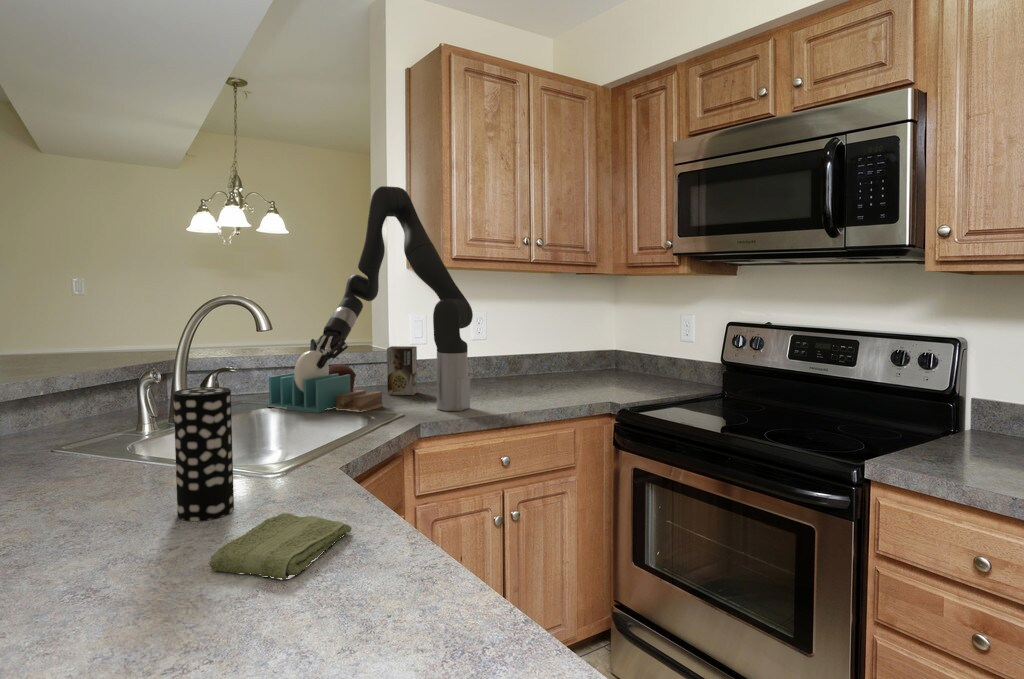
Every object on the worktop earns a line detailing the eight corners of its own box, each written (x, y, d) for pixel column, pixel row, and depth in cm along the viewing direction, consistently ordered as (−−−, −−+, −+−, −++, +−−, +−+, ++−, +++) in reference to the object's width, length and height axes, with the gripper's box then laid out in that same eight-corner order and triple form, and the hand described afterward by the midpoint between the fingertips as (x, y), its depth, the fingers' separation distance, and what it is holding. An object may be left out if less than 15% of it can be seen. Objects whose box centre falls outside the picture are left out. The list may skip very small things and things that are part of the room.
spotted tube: (241, 503, 109) (238, 387, 107) (221, 521, 101) (217, 395, 99) (192, 503, 109) (188, 386, 107) (167, 521, 100) (163, 395, 99)
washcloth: (355, 534, 97) (355, 513, 97) (291, 587, 80) (290, 562, 80) (278, 526, 100) (278, 506, 100) (200, 576, 83) (199, 552, 83)
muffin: (316, 393, 218) (315, 364, 217) (346, 390, 225) (346, 362, 224) (331, 398, 208) (330, 368, 208) (362, 395, 216) (361, 365, 215)
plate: (329, 390, 199) (328, 349, 198) (300, 397, 187) (299, 353, 186) (324, 390, 200) (323, 348, 199) (294, 396, 188) (293, 352, 187)
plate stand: (382, 406, 196) (382, 391, 196) (360, 412, 186) (360, 397, 186) (358, 404, 200) (358, 389, 199) (335, 410, 189) (335, 395, 189)
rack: (352, 403, 200) (352, 374, 199) (318, 412, 185) (317, 381, 184) (303, 398, 207) (303, 370, 207) (267, 407, 193) (266, 377, 192)
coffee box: (417, 392, 222) (417, 346, 221) (413, 395, 216) (412, 348, 215) (392, 391, 223) (391, 345, 222) (386, 394, 217) (386, 347, 215)
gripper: (317, 315, 204) (291, 357, 194) (353, 317, 199) (327, 360, 189) (328, 331, 210) (303, 372, 200) (363, 332, 204) (339, 375, 194)
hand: (315, 366), depth 194 cm, fingers closed on plate, 2 cm apart
